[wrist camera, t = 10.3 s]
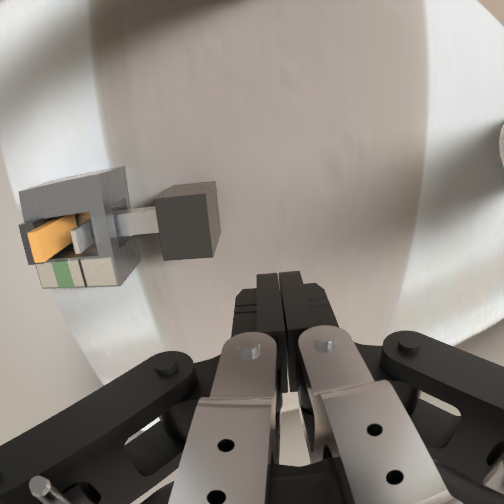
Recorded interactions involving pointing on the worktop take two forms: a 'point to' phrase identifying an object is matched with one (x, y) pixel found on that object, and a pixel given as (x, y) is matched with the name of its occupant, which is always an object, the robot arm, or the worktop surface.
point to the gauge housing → (84, 207)
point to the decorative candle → (502, 144)
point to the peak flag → (51, 237)
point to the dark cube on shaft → (169, 222)
